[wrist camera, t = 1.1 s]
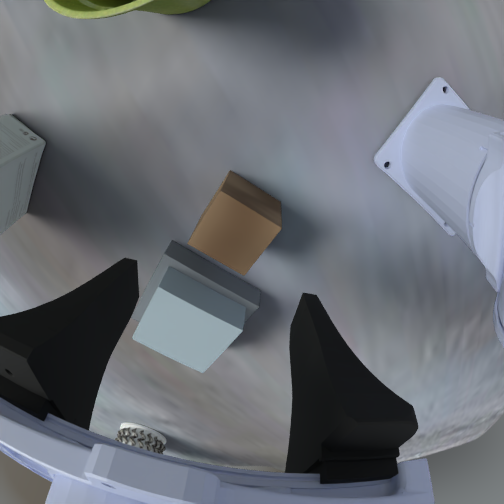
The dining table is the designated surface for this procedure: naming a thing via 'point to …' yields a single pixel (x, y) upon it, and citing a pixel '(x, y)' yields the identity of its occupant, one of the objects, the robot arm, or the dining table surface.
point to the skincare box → (16, 168)
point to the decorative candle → (141, 437)
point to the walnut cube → (237, 224)
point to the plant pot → (120, 7)
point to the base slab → (200, 280)
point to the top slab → (189, 321)
